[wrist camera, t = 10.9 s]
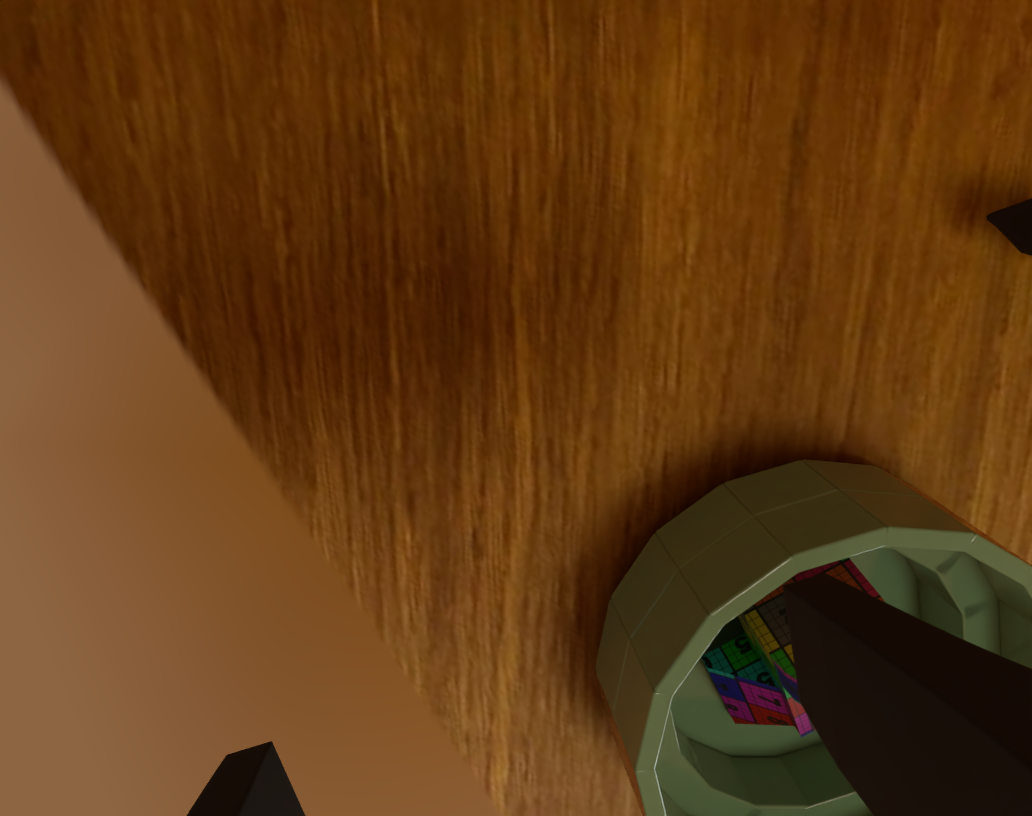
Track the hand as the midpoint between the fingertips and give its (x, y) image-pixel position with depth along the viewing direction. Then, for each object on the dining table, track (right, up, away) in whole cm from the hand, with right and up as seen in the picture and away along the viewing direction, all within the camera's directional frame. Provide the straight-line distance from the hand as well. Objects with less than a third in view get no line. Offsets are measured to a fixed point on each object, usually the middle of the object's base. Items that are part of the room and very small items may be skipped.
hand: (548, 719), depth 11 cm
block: (+6, -2, +11) cm, 12 cm away
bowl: (+7, -2, +12) cm, 15 cm away
